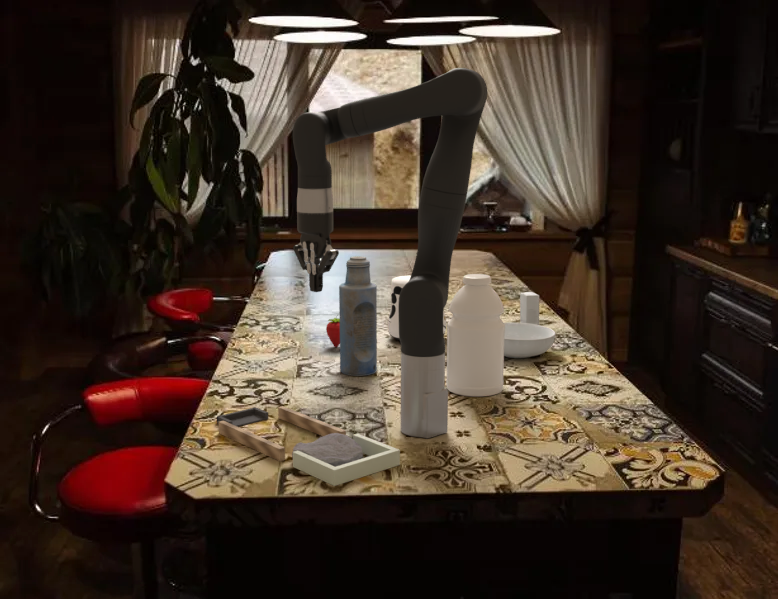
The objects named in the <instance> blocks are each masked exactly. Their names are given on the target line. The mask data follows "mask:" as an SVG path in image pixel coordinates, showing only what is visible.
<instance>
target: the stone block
mask: <svg viewBox="0 0 778 599" xmlns="http://www.w3.org/2000/svg"><path fill="white" fill-rule="evenodd" d="M294 451H300V452H303V453H305V454H307V455H309V456H312V457H314V458H316V459H319V460H321V461H323V462H325V463H328V464H330V465H332V466H335V467H336V466H340V465H343V464H346V463H349V462H353V461H356V460H359V459H363V458H364V453H362V448H361V446H360V445H359V444H358V443H356V442H355V441H354V440H353V437H350V436H348V435H347V434H346V435H343V434H339V433H332V434H328V435H326V436H319V437H318V438H317V439H316V440H314V441H312V442H301V441H300V442H297V443H296V444H295V445H294V446H293V448H292V453H291V456H292V457H291V459H293V452H294Z"/></svg>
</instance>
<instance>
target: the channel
mask: <svg viewBox="0 0 778 599" xmlns="http://www.w3.org/2000/svg"><path fill="white" fill-rule="evenodd" d="M277 408H278V410H277V412H278V414H277V415H278V416H277V417H278V419H280V420H282V421H284V422H287V423H289V424H291V425H294V426H297V427H299V428H302V429H303V430H306V431H308V432H312V433H314V434H315V435H316V434H317V435H319V436H320V437H323V436H326V435H328V434H332V433H339V434H343V435H347V432H346V430H345V429H342V428H340V427H337V426H334V425H332V424H330V423H327V422H324V421H321V420H319V419H316V418H314V417H311V416H309V415H306V414H304V413H302V412H300V411H299V412H298V411H296V410H294V409H290V408H288V407H286V406H283V405H281V406H277ZM218 434H220V435H222V436H223V437H226V438H229V439H231V440H233V441H235V442H237V443H240V444H241V445H243V446H245V447H248V448H250V449H252V450H254V451H257V452H259V453H260V454H263V455H265V456H267V457H270V458H271V459H274V460H276V461H278V462H283V461H285V460H286V449H285V448H286V447H284V446H282V445H279V444H277V443H275V442H273V441H270V440H268V439H266V438H264V437H261V436H260V435H257V434H254V433H252V432H250V431H248V430H246V429H243V428H241V427H240V426H238V427H237V426H235V425H232V424H230V423H228V422H226V421H220V422H219V424H218Z"/></svg>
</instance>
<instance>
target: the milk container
mask: <svg viewBox="0 0 778 599" xmlns="http://www.w3.org/2000/svg"><path fill="white" fill-rule="evenodd" d="M410 277H411V275H400V276H395V277H392V278H391V283H390V284H391V285H390V286H391V287H390V290H391V291H390V310H389V315H388V319H387V329H388V334H389V335H390V336H391V337H392V338H393V339H394V340H397V341H400V339H399V295H400V292H401V290H402V288H403V287H404V285H405V284H406V283H407V282H409V280H410ZM444 309H445V308H444ZM444 309H443V335H444V336H445V334H446V332H447V318H446V314H445V310H444Z"/></svg>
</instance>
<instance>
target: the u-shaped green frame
mask: <svg viewBox="0 0 778 599" xmlns="http://www.w3.org/2000/svg"><path fill="white" fill-rule="evenodd" d="M352 439H353V440H354V441H355V442H356V443H358V444H359V445H360V446H361V448H362V453H363V455H367V456H366V457H363V459H359V460H356V461H353V462H349V463H346V464H343V465H340V466H336V467H335V466H332V465H330V464H328V463H325V462H323V461H321V460H319V459H316V458H314V457H312V456H309V455H307V454H305V453H303V452H300V451H294V452H293V451H292V452H293V458H292V466H293V468H294V469H297V470H298V471H299V470H300V471H301V472H303V473H305V474H307V475H310V476H312V477H314V478H317V479H318V480H321V481H322V482H325V483H327V484H329V485H331V486H334V487H335V486H339V485H341V484H346V483H348V482H351V481H355V480H357V479H360V478H364V477H366V476H369V475H373V474H375V473H379V472H382V471H385V470H388V469H390V468H394V467H398V466H400V464H401V450H400V449H399V448H396V447H394V446H391V445H388V444H385V443H383V442H380V441H378V440H375V439H372V438H370V437H367V436H364V435H363V434H360V433H355V434H352Z"/></svg>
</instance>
